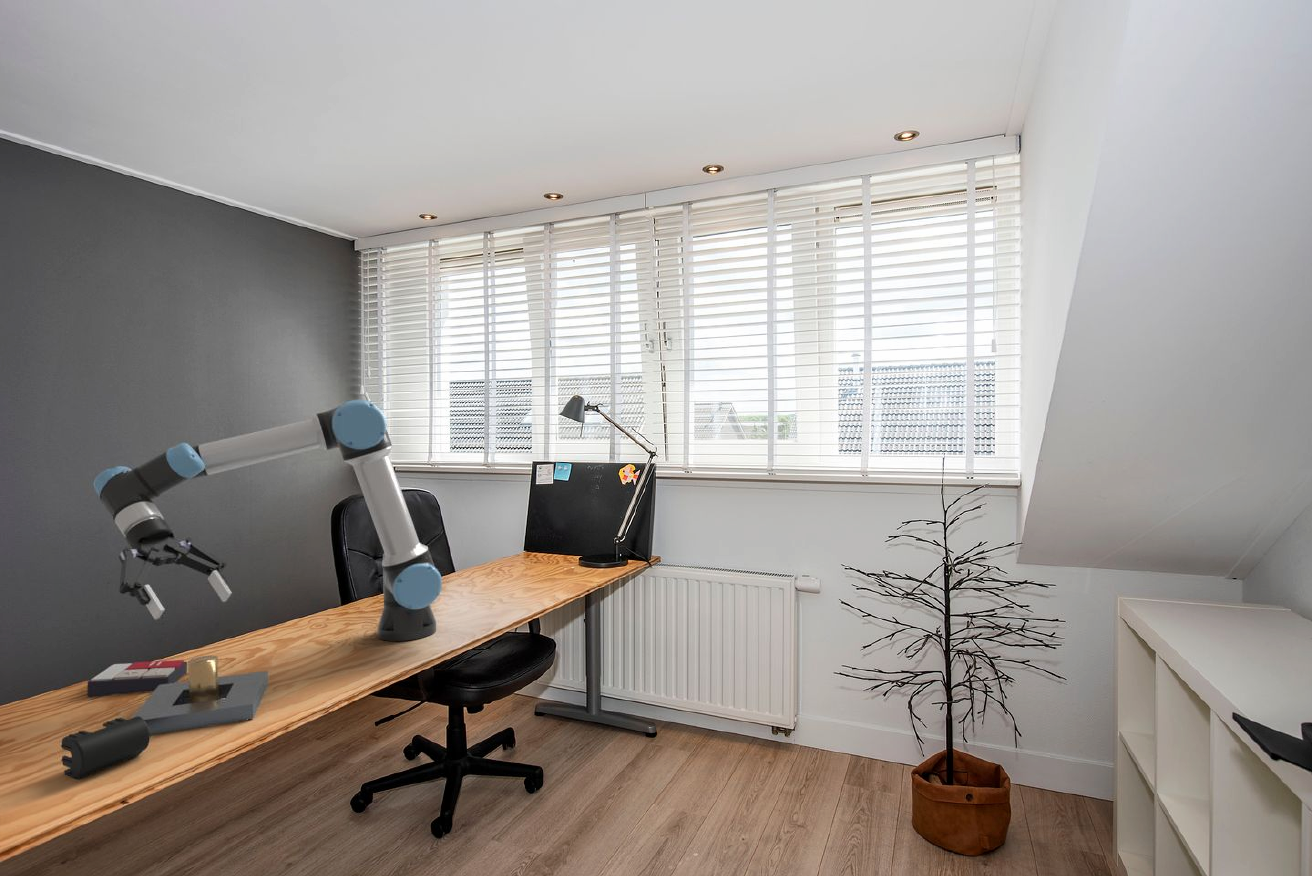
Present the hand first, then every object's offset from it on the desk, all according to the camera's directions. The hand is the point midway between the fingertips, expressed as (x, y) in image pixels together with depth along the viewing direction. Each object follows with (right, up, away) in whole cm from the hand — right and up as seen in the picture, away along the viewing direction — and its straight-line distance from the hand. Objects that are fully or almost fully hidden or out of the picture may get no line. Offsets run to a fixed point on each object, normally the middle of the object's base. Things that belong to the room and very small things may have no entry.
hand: (195, 605), depth 140 cm
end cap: (+1, -21, -24) cm, 32 cm away
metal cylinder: (+2, -21, 0) cm, 21 cm away
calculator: (-22, -21, +14) cm, 34 cm away
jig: (+2, -21, 0) cm, 21 cm away
